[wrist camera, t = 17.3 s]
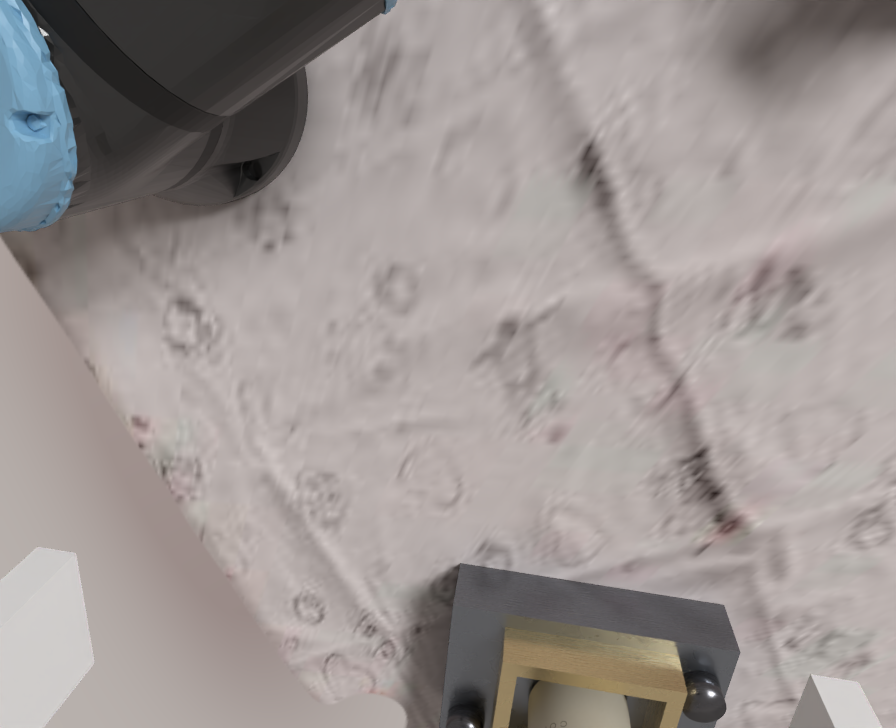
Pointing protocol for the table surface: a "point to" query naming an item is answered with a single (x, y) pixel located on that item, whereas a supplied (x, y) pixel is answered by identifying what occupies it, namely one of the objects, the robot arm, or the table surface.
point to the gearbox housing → (582, 650)
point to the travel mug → (575, 707)
